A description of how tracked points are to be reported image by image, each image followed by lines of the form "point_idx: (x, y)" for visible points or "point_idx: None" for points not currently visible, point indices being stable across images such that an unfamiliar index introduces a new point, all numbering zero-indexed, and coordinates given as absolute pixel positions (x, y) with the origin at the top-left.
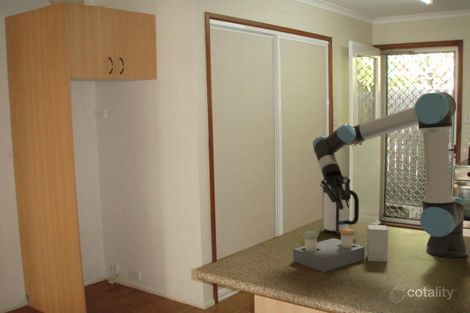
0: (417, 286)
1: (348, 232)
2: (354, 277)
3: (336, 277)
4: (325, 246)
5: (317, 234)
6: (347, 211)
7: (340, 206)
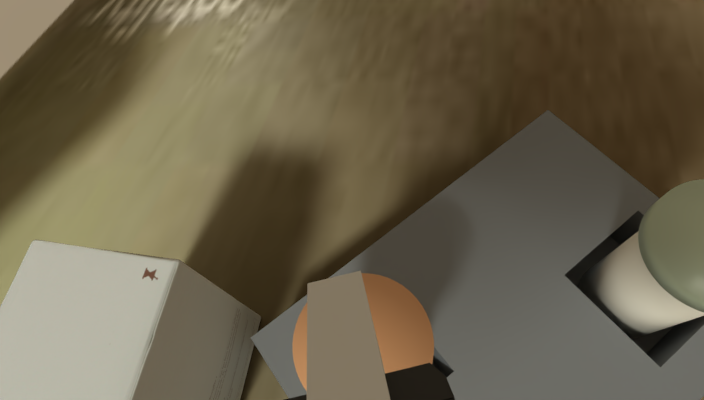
0: (190, 32)
1: (363, 276)
2: (394, 98)
3: (473, 96)
4: (537, 355)
5: (653, 209)
6: (335, 297)
7: (441, 380)
